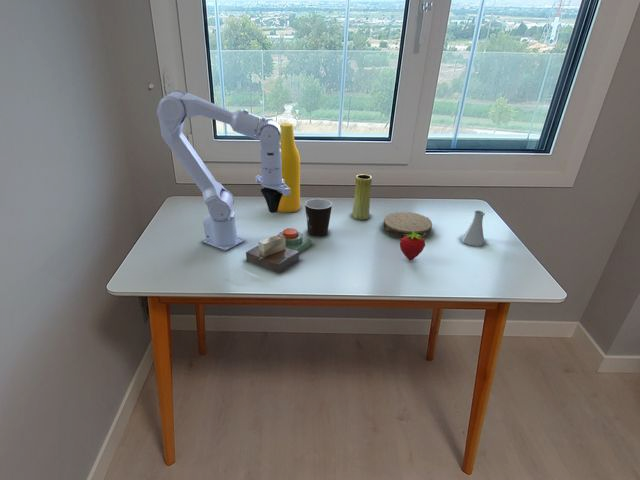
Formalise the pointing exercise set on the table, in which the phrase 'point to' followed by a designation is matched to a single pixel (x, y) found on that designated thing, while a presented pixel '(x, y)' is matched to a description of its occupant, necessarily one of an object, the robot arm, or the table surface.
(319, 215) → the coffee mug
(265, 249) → the cream rectangular block
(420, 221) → the cork coaster disc
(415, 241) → the strawberry
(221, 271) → the table surface
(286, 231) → the button
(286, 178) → the beer bottle
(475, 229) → the flask
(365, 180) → the vase
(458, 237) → the table surface
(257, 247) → the switch base
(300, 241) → the button box
